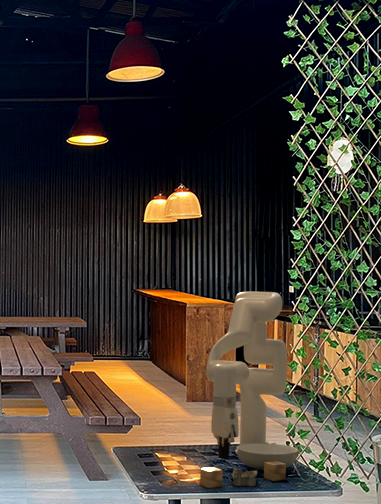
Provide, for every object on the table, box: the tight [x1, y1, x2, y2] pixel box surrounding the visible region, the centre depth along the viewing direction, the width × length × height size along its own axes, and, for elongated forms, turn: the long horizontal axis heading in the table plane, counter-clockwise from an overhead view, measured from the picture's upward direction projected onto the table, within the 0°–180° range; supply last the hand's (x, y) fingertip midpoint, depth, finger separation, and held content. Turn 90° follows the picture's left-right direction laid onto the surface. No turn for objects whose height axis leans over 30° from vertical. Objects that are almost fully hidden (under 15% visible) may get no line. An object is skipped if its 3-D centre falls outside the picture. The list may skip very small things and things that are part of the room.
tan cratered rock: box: [232, 466, 258, 487], centre depth 265 cm, size 11×8×4 cm
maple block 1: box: [199, 466, 224, 489], centre depth 260 cm, size 5×5×5 cm
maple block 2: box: [263, 461, 287, 482], centre depth 272 cm, size 5×5×5 cm
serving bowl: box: [236, 443, 299, 472], centre depth 288 cm, size 21×21×7 cm
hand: (223, 457), depth 278 cm, fingers closed
